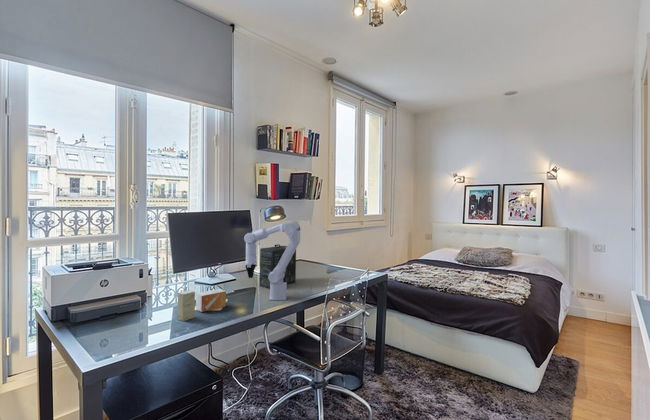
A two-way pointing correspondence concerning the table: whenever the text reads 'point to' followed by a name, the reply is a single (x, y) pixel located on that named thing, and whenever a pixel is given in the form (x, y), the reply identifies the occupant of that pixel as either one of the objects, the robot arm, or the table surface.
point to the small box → (210, 300)
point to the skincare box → (186, 305)
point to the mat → (213, 309)
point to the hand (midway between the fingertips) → (250, 277)
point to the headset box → (271, 260)
